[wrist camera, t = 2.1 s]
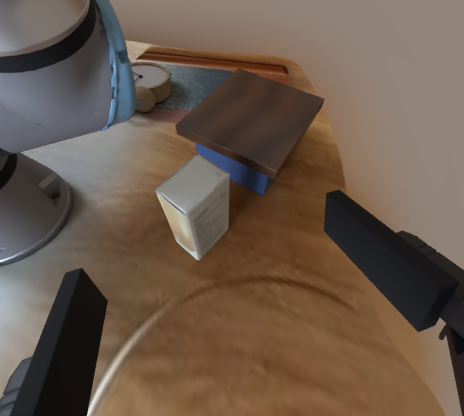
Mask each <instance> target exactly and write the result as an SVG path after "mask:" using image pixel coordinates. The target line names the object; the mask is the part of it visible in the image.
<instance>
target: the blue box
mask: <svg viewBox="0 0 464 416" xmlns="http://www.w3.org/2000/svg"><path fill="white" fill-rule="evenodd" d="M196 148H197V155H199V154H200V155H202V156H203V157H205V158H207V159H208V160H210V161H211V162H213V163H214V164H216V165H217V166H219V167H220V168H221V169H223V170H224V171H226V172H227V173H229V174H230V180H232V181H234V182H236V183H238V184H241V185H243V186H245V187H247V188H249V189H251V190H253V191H255V192H257V193H259V194H261V195H264V193H265V192H266V190H267V189H268V187H269V186H270V184H271V183H272V181H273V180H274V179H273V178H271V177H268V176H266V175H264V174H262V173H260V172H258V171H256V170H253V169H251V168H249V167H247V166H245V165H243V164H241V163H238V162H236V161H234V160H232V159H230V158H228V157H226V156H223V155H221V154H219V153H217V152H215V151H213V150H211V149H208V148H206V147H204V146H202V145H200V144H198V143H196Z"/></svg>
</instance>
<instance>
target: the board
mask: <svg viewBox="0 0 464 416" xmlns="http://www.w3.org/2000/svg"><path fill="white" fill-rule="evenodd" d="M323 102H324V99H323V98H320V97H318V96H315V95H312V94H309V93H307V92H304V91H301V90H298V89H295V88H293V87H290V86H287V85H284V84H281V83H279V82H276V81H273V80H270V79H267V78H265V77H262V76H259V75H256V74H253V73H251V72H248V71H245V70H242V69H237V70H236V71H235V72H234V73H233V74H232V75H231V76H230V77H229V78H227V79H226V80H225V81H224V82H223V83H222V84H221V85H220V86H219V87H217V88H216V89H215V90H214V91H213V92H212V93H211V94H210V95H209V96H207V97H206V98H205V99H204V100H203V101H202V102H201V103H200V104H199V105H197V106H196V107H195V108H194V109H193V110H192V111H191V112H190V113H189V114H187V115H186V116H185V117H184V118H183V119H182V120H181V121H180V122H179V123H177V124H176V131H177V134H178V135H181V136H183V137H185V138H187V139H189V140H191V141H193V142H196V143H198V144H200V145H202V146H204V147H206V148H208V149H211V150H213V151H215V152H217V153H219V154H221V155H223V156H226V157H228V158H230V159H232V160H234V161H236V162H238V163H241V164H243V165H245V166H247V167H249V168H251V169H253V170H256V171H258V172H260V173H262V174H264V175H266V176H268V177H271V178H273V179H275V178H276V177H277V175H278V174H279V172H280V171H281V169H282V167H283V166H284V164H285V163H286V161H287V160H288V158H289V157H290V155H291V154H292V152H293V150H294V149H295V147H296V146H297V144H298V143H299V141H300V140H301V138H302V137H303V135H304V133H305V132H306V130H307V129H308V127H309V126H310V124H311V123H312V121H313V119H314V118H315V116H316V115H317V113H318V112H319V110H320V109H321V107H322V104H323Z"/></svg>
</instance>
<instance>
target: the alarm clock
mask: <svg viewBox="0 0 464 416" xmlns="http://www.w3.org/2000/svg"><path fill="white" fill-rule="evenodd" d="M131 66H132V70H133V75H134V80H135V87H136V97H137V103H136V110H138V111H141V112H147V111H150V110H152V108H153V107H154V106H155V103H158V102H161V101H163V100H165V99H166V98H167V97H169V96H170V94H171V92H172V89H171V83H170V75H171V73H169V71H168V70H167V68H165V67H163V66H162V65H159V64H156V63H151V62H133V63H131Z"/></svg>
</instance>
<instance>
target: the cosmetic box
mask: <svg viewBox="0 0 464 416" xmlns="http://www.w3.org/2000/svg"><path fill="white" fill-rule="evenodd" d="M229 190H230V174H229V173H227V172H226V171H224V170H223V169H221V168H220V167H219V166H217V165H216V164H214V163H213V162H211V161H210V160H208V159H207V158H205V157H203V156H202V155H200V154H199V155H197V156H196V157H194V158H193V159H192V160H190V161H189V162H188V163H186V164H185V165H184V166H183V167H181V168H180V169H179V170H178V171H176V172H175V173H174V174H173V175H172V176H170V177H169V178H168V179H167V180H166V181H164V182H163V183H162V184H161V185H160V186H159V187H158V188H156V189H155V191H156V194H157V196H158V198H159V201H160V203H161V205H162V208H163V210H164V213H165V215H166V217H167V220H168V222H169V225H170V227H171V229H172V232H173V234H174V236H175V239H176V241H177V242H178V243H179V244H180V245H181V246H182V247H183V248H184V249H185V250H186V251H187V252H189V253H190V254H191V255H192V256H193V257H194V258H195V259H197V260H200V259H201V258H202V257H203V256H204V255H205V254H206V253H207V252H208V251H209V250H210V249H211V248H212V247H213V246H214V245H215V244H216V243H217V241H218V240H219V239H220V238H221V237H222V236H223V235H224V234H225V233H226V231H227V230H228V227H229Z"/></svg>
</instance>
